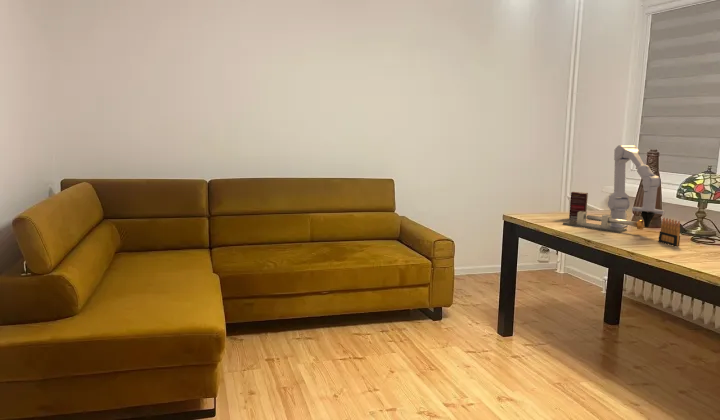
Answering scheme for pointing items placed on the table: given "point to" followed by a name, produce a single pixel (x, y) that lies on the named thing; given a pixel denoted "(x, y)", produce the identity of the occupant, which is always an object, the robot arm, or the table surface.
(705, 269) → the table surface
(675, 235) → the ammunition clip
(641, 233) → the table surface
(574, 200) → the supplement box
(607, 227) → the plate
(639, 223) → the shaft
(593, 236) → the table surface
